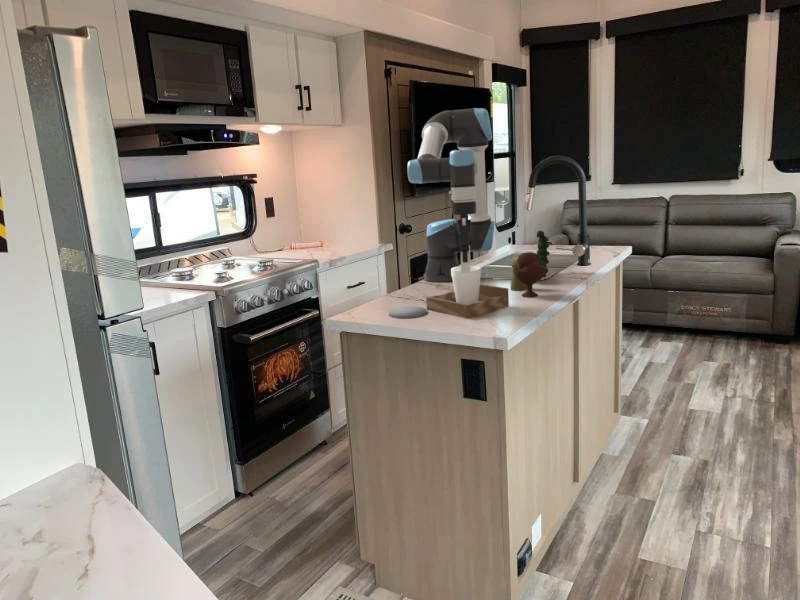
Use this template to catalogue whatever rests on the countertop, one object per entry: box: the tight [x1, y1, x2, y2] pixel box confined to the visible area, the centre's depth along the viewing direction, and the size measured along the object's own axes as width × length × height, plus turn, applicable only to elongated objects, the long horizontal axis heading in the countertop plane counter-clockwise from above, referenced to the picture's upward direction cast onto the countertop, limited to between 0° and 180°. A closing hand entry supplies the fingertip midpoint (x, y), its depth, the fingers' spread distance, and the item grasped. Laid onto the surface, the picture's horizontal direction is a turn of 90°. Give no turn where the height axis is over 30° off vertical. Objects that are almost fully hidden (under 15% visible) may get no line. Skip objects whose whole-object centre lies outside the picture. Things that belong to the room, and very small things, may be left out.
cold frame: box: [425, 283, 510, 319], centre depth 197 cm, size 18×18×6 cm
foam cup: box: [451, 265, 482, 304], centre depth 197 cm, size 10×9×13 cm
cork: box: [510, 258, 527, 292], centre depth 220 cm, size 6×6×11 cm
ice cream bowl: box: [512, 252, 547, 299], centre depth 208 cm, size 11×11×15 cm
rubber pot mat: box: [388, 306, 428, 319], centre depth 196 cm, size 12×12×1 cm
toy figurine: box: [526, 230, 550, 278], centre depth 236 cm, size 9×19×25 cm
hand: (466, 269), depth 195 cm, fingers open, 13 cm apart
